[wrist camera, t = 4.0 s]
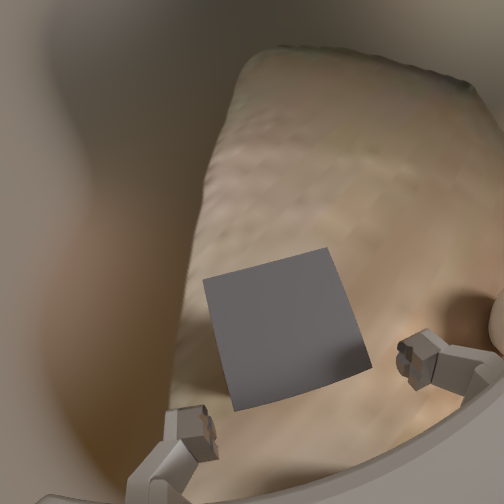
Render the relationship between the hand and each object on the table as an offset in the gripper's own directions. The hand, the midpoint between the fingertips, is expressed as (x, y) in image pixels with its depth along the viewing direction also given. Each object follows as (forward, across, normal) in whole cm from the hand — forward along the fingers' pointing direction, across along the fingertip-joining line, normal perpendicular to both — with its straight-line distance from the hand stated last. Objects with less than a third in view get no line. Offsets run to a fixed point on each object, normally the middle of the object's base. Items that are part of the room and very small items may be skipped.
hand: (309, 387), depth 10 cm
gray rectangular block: (+9, 0, -5) cm, 10 cm away
